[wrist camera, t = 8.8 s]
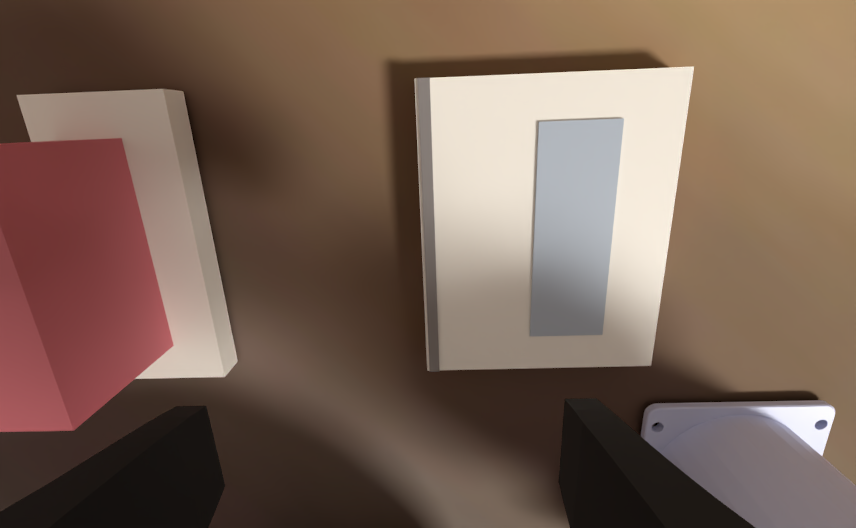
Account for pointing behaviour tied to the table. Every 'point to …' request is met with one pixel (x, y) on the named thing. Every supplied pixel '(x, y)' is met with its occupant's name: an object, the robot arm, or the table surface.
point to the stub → (103, 257)
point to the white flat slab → (547, 214)
